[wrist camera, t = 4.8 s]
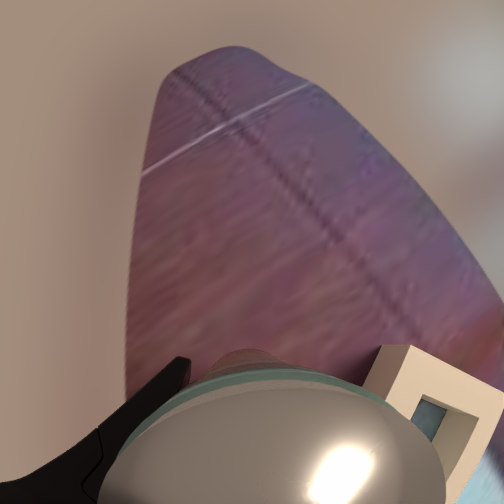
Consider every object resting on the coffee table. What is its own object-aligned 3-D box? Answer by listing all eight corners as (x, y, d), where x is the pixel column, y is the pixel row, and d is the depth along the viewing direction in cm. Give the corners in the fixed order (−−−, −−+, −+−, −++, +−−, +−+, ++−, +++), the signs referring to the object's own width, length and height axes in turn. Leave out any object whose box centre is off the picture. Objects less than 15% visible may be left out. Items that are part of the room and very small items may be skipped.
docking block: (417, 502, 17) (442, 522, 13) (311, 473, 17) (325, 499, 14) (475, 391, 19) (508, 395, 15) (382, 344, 20) (410, 344, 16)
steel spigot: (267, 448, 14) (328, 647, 2) (185, 407, 15) (54, 560, 2) (311, 372, 15) (501, 441, 3) (229, 330, 16) (193, 297, 3)
